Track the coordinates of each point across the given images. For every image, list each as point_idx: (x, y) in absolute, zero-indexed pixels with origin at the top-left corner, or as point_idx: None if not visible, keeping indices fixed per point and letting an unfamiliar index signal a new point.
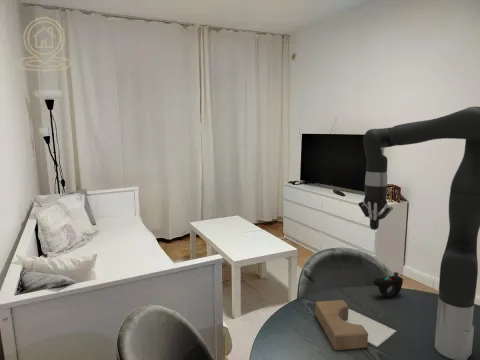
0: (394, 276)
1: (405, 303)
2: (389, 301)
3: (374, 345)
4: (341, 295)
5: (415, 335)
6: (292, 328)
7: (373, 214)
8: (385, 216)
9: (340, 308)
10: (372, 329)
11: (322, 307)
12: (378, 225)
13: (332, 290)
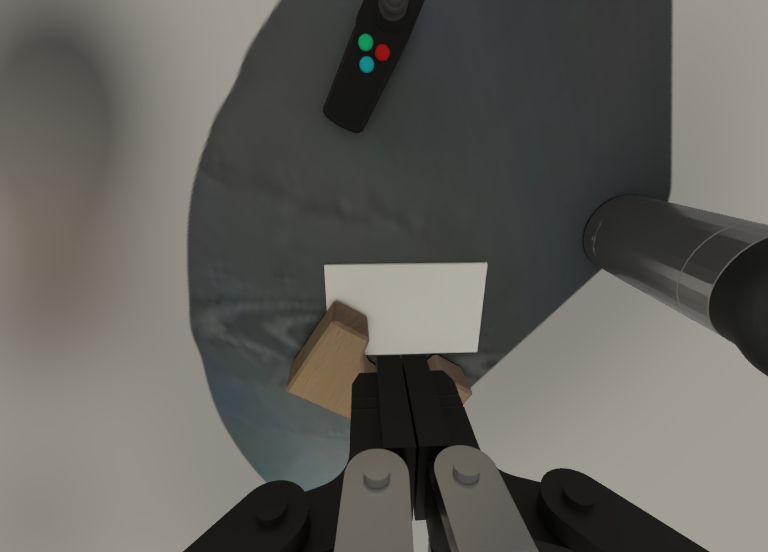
0: (391, 16)
1: (442, 65)
2: (393, 100)
3: (469, 350)
4: (251, 202)
5: (531, 237)
6: (297, 432)
7: (375, 542)
8: (651, 530)
9: (359, 366)
10: (437, 304)
11: (321, 398)
12: (458, 401)
13: (203, 195)
